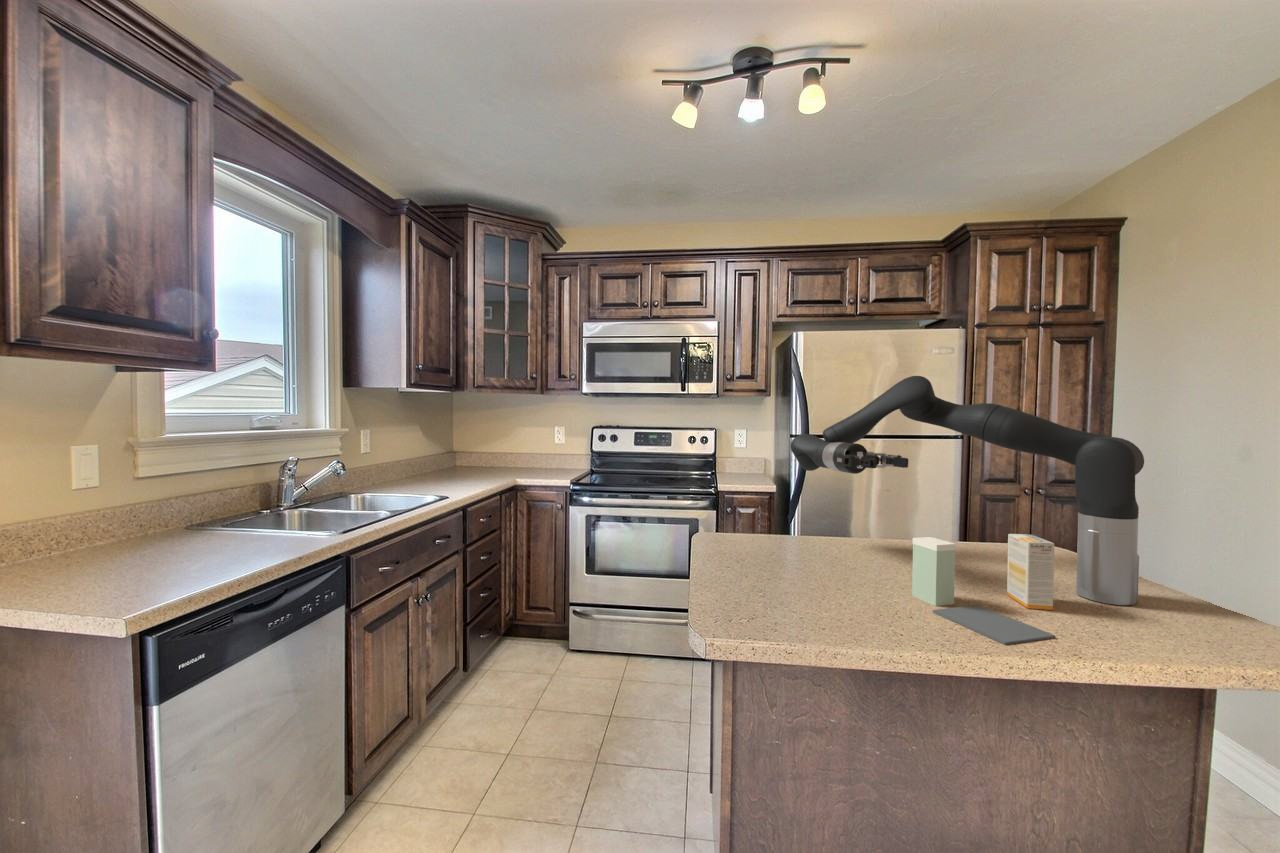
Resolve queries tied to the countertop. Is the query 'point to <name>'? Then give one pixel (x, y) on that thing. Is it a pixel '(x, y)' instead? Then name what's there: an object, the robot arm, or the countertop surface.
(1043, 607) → the supplement box
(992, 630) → the mat
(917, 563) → the sage block
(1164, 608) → the countertop surface
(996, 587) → the countertop surface
